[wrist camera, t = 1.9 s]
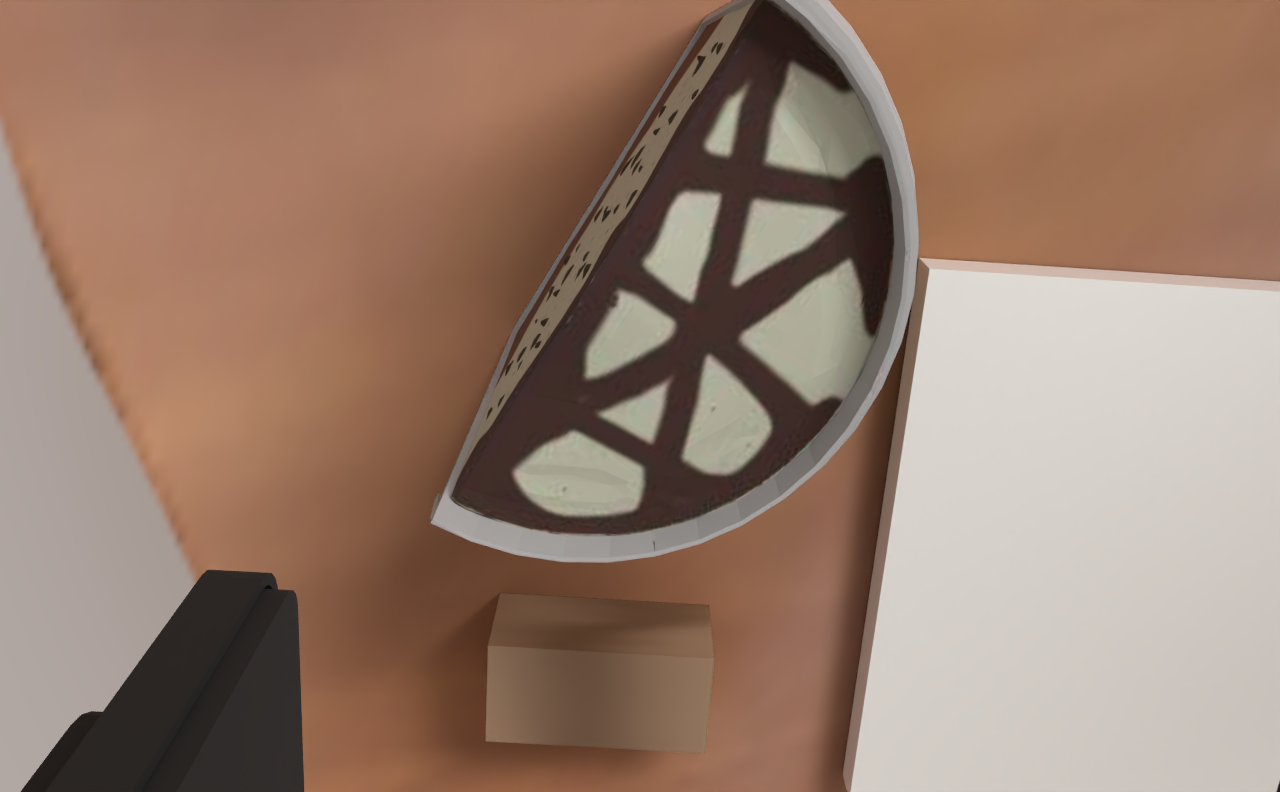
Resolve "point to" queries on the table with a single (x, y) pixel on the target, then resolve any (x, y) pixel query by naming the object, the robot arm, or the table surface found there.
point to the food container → (705, 305)
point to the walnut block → (599, 673)
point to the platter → (1077, 539)
